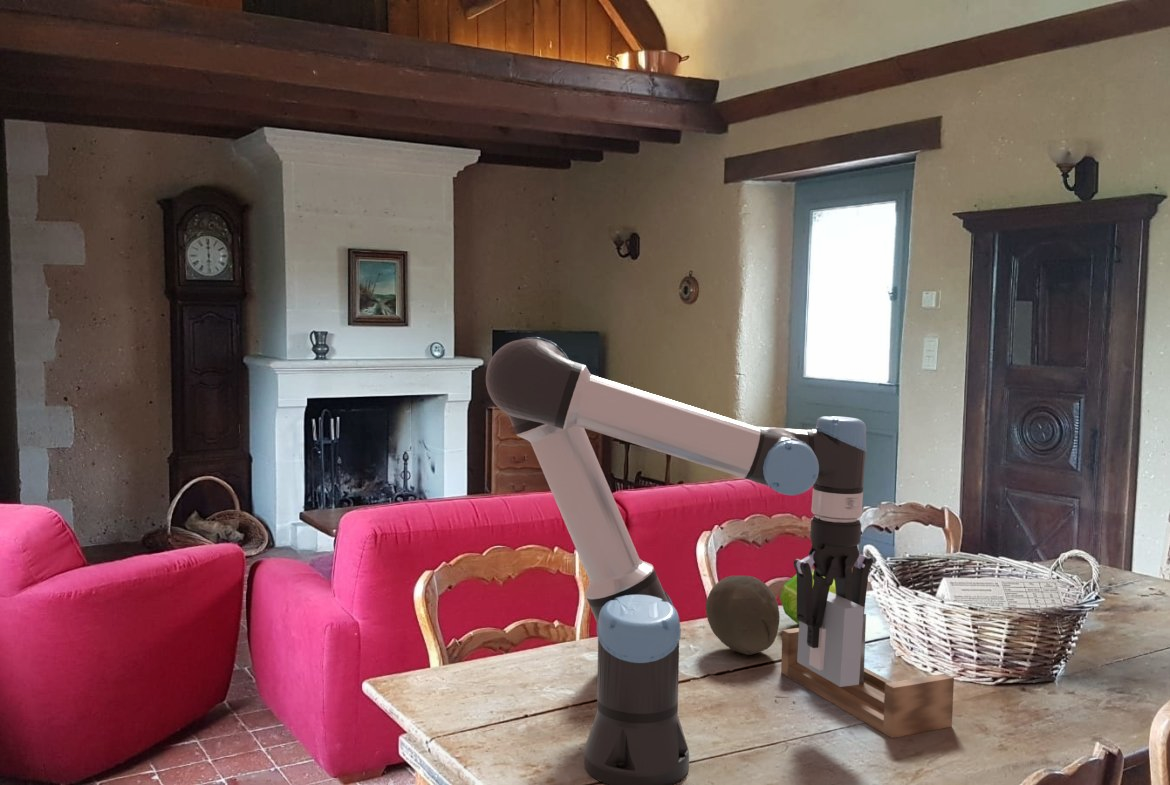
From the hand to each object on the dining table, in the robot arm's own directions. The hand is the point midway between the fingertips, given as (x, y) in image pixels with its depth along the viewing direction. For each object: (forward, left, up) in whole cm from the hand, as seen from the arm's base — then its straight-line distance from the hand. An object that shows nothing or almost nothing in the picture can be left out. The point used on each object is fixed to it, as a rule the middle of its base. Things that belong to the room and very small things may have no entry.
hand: (827, 665), depth 152 cm
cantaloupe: (+8, +37, -11) cm, 39 cm away
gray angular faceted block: (0, 0, -1) cm, 1 cm away
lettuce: (+30, +41, -11) cm, 52 cm away
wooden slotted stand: (+15, +10, -11) cm, 21 cm away
